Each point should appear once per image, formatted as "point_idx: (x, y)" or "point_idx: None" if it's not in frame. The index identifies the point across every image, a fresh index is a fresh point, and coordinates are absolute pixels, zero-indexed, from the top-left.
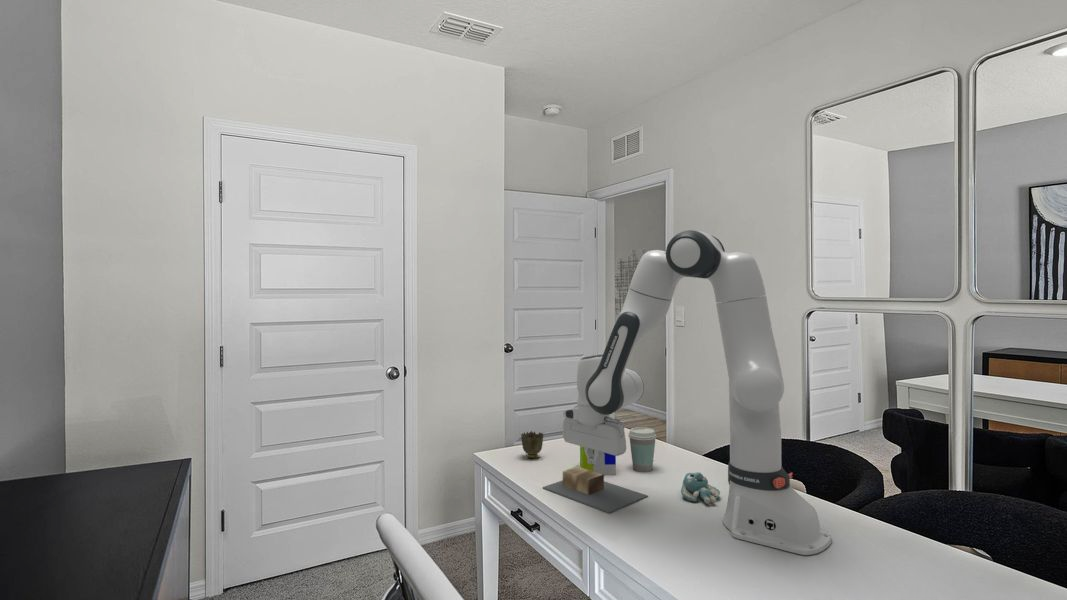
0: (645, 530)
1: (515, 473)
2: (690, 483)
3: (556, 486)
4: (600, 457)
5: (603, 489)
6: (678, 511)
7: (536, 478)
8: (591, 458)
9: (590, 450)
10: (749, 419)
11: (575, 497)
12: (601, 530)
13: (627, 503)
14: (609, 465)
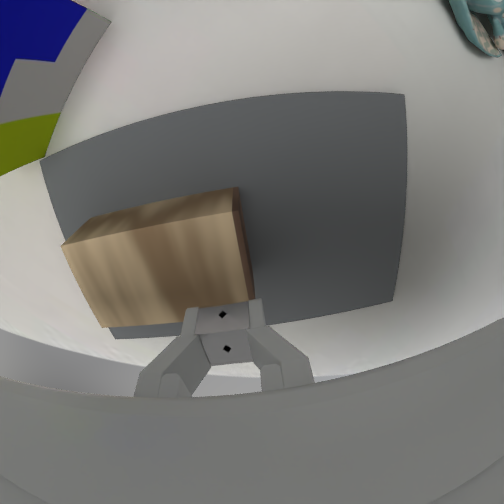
0: (476, 282)
1: (7, 316)
2: (496, 14)
3: None
4: (277, 335)
5: (238, 189)
6: (497, 138)
7: (39, 302)
8: (225, 360)
9: (189, 392)
10: None
11: None
12: (413, 348)
13: (401, 216)
14: (70, 39)
